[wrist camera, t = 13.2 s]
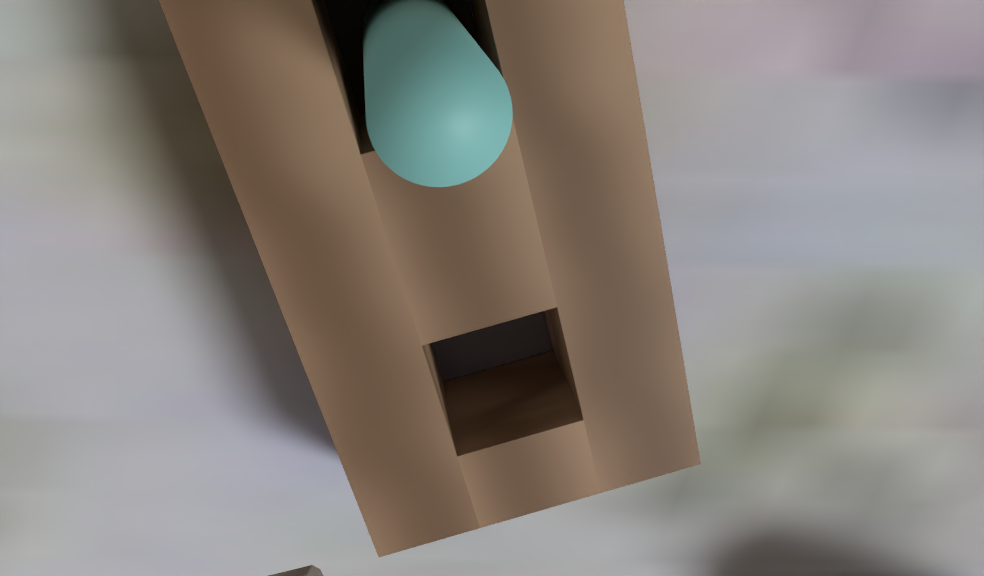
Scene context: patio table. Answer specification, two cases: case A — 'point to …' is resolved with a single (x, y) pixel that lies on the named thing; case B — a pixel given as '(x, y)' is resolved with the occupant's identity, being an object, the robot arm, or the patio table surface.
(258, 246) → the hole block
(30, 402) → the patio table surface
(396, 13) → the peg
